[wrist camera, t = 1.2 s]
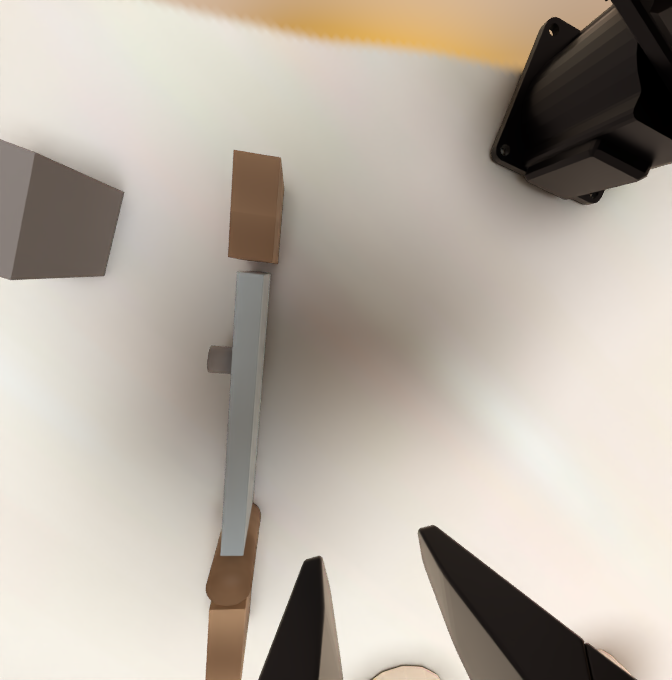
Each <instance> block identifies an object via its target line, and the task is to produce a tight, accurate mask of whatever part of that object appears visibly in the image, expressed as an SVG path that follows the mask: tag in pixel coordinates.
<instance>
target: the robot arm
mask: <svg viewBox="0 0 672 680" xmlns="http://www.w3.org/2000/svg"><path fill="white" fill-rule="evenodd" d="M605 1H608V0H605ZM611 2H612V3H613V5H612V6H611V7H609V8H608V9H607V10H606V11H605V12H603V13H602V14H601V15H600V16H599V17H597V18H596V19H595V20H594V21H592V22H591V23H590V24H589V25H588V26H586V27H585V28H584V29H583V30H582V31H580V30H578V29H576V28H575V27H573V26H571V25H570V24H568V23H566V22H565V21H563V20H561V19H560V18H557V17H553V18H551V19H549V20H548V21H547V22H546V23H545V24H544V25H543V26H542V27H541V29H540V30H539V33H538V35H537V38H536V40H535V43H534V45H533V48H532V50H531V53H530V55H529V58H528V60H527V63H526V65H525V68H524V70H523V73H522V75H521V78H520V80H519V83H518V85H517V88H516V90H515V93H514V95H513V98H512V100H511V103H510V105H509V108H508V110H507V113H506V115H505V117H504V120H503V122H502V125H501V127H500V130H499V132H498V135H497V137H496V140H495V142H494V145H493V147H492V151H491V156H492V159H493V160H494V161H495V162H496V163H498V164H500V165H502V166H504V167H506V168H508V169H510V170H513V171H515V172H517V173H519V174H521V175H523V176H524V177H525V179H526V181H527V182H529V183H531V184H533V185H535V186H537V187H539V188H541V189H543V190H545V191H548V192H550V193H552V194H554V195H556V196H558V197H560V198H562V199H570V198H571V199H573V200H575V201H578V202H580V203H582V204H584V205H588V204H593V203H597V202H598V201H599V200H600V199H601V197H602V195H603V193H604V191H605V189H609V188H613V187H617V186H621V185H625V184H629V183H633V182H637V181H639V180H641V179H643V178H645V177H647V175H648V173H649V170H650V169H653V168H656V167H660V166H664V165H667V164H671V163H672V0H611ZM549 30H551V31H552V33H553V36H552V35H551V34H550V32H549ZM501 147H503V148H504V149H505V155H502V154H501V151H500V150H501ZM590 193H592V197H590ZM418 537H419V543H420V549H421V555H422V560H423V564H424V567H425V570H426V572H427V575H428V578H429V580H430V583H431V586H432V588H433V591H434V594H435V596H436V599H437V602H438V605H439V607H440V610H441V613H442V615H443V618H444V621H445V623H446V626H447V629H448V631H449V634H450V636H451V639H452V641H453V644H454V646H455V648H456V651H457V653H458V655H459V657H460V659H461V661H462V663H463V666H464V668H465V670H466V672H467V674H468V676H469V678H470V680H637V679H635V678H634V677H632V676H631V675H630V674H628V673H627V672H626V671H624V670H623V669H622V668H620V667H619V666H618V665H616V664H615V663H614V662H612V661H611V660H610V659H608V658H607V657H606V656H604V655H603V654H602V653H600V652H599V651H598V650H597V649H595V648H594V647H593V646H591V645H590V644H589V643H585V644H584V640H583V639H582V638H581V637H579V636H578V635H577V634H576V633H574V632H573V631H572V630H570V629H569V628H568V627H566V626H565V625H564V624H563V623H561V622H560V621H559V620H557V619H556V618H555V617H553V616H552V615H551V614H550V613H548V612H547V611H546V610H544V609H543V608H542V607H540V606H539V605H538V604H537V603H535V602H534V601H533V600H531V599H530V598H529V597H527V596H526V595H525V594H524V593H522V592H521V591H520V590H518V589H517V588H516V587H514V586H513V585H512V584H511V583H509V582H508V581H507V580H505V579H504V578H503V577H501V576H500V575H499V574H498V573H496V572H495V571H494V570H492V569H491V568H490V567H488V566H487V565H486V564H485V563H483V562H482V561H481V560H479V559H478V558H477V557H475V556H474V555H473V554H472V553H470V552H469V551H468V550H466V549H465V548H464V547H462V546H461V545H460V544H459V543H457V542H456V541H455V540H453V539H452V538H451V537H449V536H448V535H447V534H446V533H444V532H443V531H442V530H440V529H439V528H438V527H436V526H434V525H431V526H427V527H423V528H420V529H419V530H418ZM258 680H343V674H342V666H341V658H340V652H339V645H338V638H337V631H336V624H335V618H334V611H333V604H332V597H331V591H330V586H329V581H328V577H327V573H326V569H325V565H324V562H323V558H322V557H321V556H317V557H313V558H309V559H306V560H305V561H304V562H303V565H302V567H301V570H300V573H299V575H298V578H297V580H296V583H295V586H294V588H293V591H292V593H291V596H290V599H289V601H288V604H287V606H286V609H285V612H284V614H283V617H282V619H281V622H280V624H279V627H278V630H277V632H276V635H275V637H274V640H273V643H272V645H271V648H270V650H269V653H268V656H267V658H266V661H265V663H264V666H263V669H262V671H261V674H260V676H259V679H258Z"/></svg>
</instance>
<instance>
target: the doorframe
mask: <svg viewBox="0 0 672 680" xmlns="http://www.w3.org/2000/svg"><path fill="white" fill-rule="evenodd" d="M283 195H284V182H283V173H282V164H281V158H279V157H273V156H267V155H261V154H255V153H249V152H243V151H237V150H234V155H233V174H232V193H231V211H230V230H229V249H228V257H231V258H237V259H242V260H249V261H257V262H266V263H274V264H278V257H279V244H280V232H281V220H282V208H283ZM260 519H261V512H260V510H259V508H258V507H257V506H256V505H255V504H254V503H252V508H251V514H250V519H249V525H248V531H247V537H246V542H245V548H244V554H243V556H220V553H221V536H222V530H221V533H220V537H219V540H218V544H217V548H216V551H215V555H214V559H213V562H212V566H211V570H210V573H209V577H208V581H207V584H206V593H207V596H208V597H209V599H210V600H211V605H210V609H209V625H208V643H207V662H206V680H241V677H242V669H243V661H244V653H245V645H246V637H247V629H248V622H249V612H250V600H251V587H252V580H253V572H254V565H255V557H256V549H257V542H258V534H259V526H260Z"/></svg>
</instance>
